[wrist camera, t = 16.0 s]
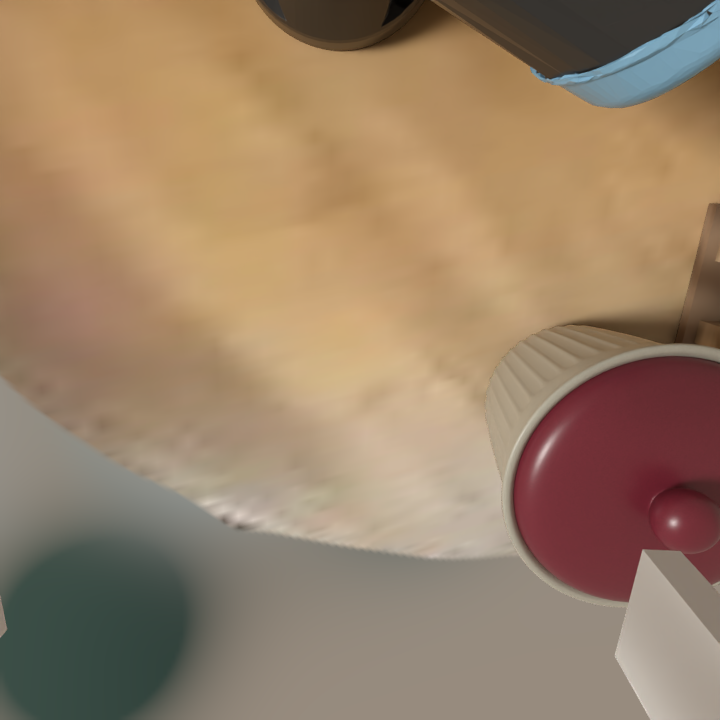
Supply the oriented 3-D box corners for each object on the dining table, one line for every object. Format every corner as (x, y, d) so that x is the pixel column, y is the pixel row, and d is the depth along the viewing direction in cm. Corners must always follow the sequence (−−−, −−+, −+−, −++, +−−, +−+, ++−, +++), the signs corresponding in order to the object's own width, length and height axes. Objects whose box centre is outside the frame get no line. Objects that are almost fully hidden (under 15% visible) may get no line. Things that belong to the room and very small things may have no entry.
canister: (429, 334, 44) (485, 442, 24) (632, 263, 42) (876, 317, 22) (485, 500, 49) (569, 704, 29) (668, 444, 48) (894, 621, 27)
